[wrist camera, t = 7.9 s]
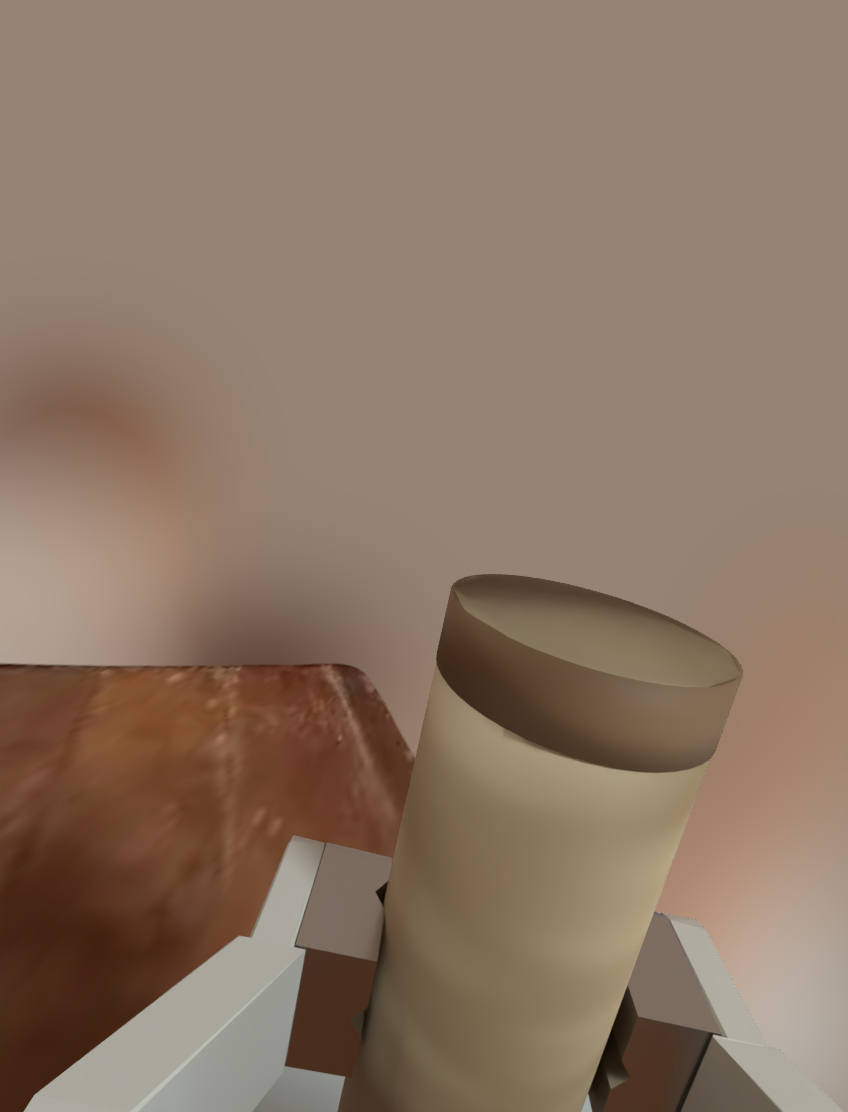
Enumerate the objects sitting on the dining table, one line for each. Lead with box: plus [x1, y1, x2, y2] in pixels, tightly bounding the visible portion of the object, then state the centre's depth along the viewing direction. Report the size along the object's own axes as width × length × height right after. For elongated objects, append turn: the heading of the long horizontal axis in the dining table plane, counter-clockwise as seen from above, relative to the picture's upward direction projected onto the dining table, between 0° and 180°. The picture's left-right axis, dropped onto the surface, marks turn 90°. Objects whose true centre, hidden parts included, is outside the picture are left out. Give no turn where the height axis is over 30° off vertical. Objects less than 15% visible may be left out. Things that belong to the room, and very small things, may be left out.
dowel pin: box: [337, 574, 743, 1112], centre depth 7 cm, size 3×3×12 cm
